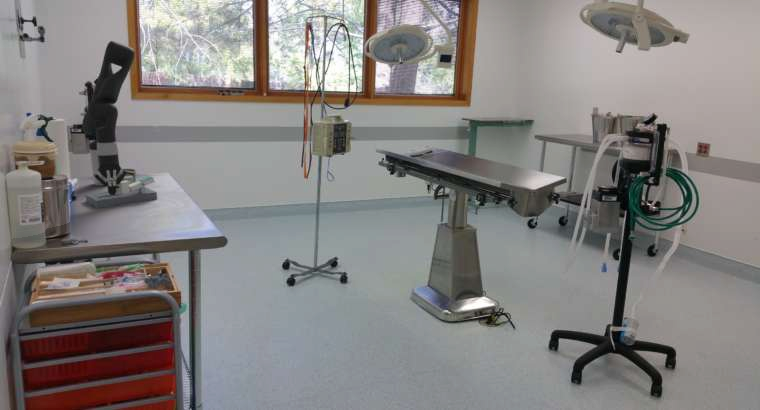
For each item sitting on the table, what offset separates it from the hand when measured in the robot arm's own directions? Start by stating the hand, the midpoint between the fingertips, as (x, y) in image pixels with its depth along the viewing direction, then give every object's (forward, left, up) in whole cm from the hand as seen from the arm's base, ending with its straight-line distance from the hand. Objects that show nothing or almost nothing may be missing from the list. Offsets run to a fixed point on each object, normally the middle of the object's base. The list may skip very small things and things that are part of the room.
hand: (112, 194), depth 224 cm
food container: (-21, +13, -4) cm, 25 cm away
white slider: (0, +5, -1) cm, 5 cm away
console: (-4, +5, -4) cm, 8 cm away
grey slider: (-9, +10, -1) cm, 13 cm away
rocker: (0, +12, +3) cm, 12 cm away
